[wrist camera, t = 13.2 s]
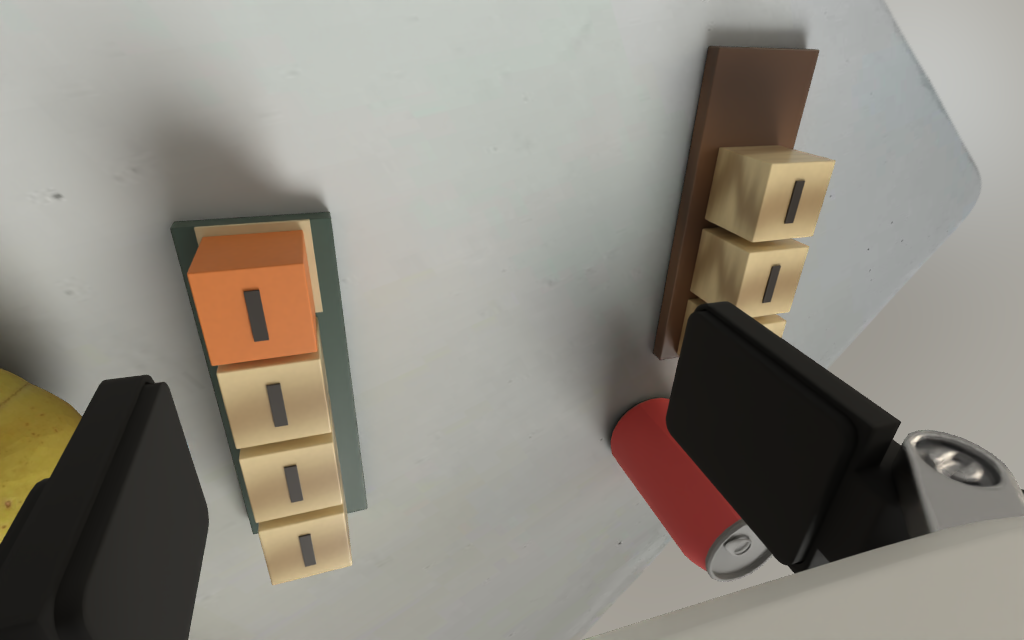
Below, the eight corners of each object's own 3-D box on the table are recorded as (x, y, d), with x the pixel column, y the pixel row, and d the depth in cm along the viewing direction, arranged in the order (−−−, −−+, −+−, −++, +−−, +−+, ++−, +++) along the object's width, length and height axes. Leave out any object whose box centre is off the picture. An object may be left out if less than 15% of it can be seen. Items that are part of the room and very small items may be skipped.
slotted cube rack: (173, 221, 26) (147, 265, 21) (329, 211, 28) (336, 249, 23) (254, 522, 35) (247, 597, 31) (366, 498, 37) (375, 565, 33)
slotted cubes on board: (708, 45, 30) (780, 50, 26) (806, 48, 33) (890, 53, 28) (652, 353, 40) (698, 396, 35) (731, 340, 42) (784, 379, 37)
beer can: (640, 383, 41) (750, 500, 31) (695, 406, 44) (811, 520, 34) (591, 450, 42) (680, 582, 33) (647, 468, 46) (745, 593, 36)
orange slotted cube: (201, 236, 25) (185, 274, 22) (302, 229, 27) (303, 263, 23) (222, 320, 27) (210, 368, 24) (315, 309, 29) (317, 353, 25)
